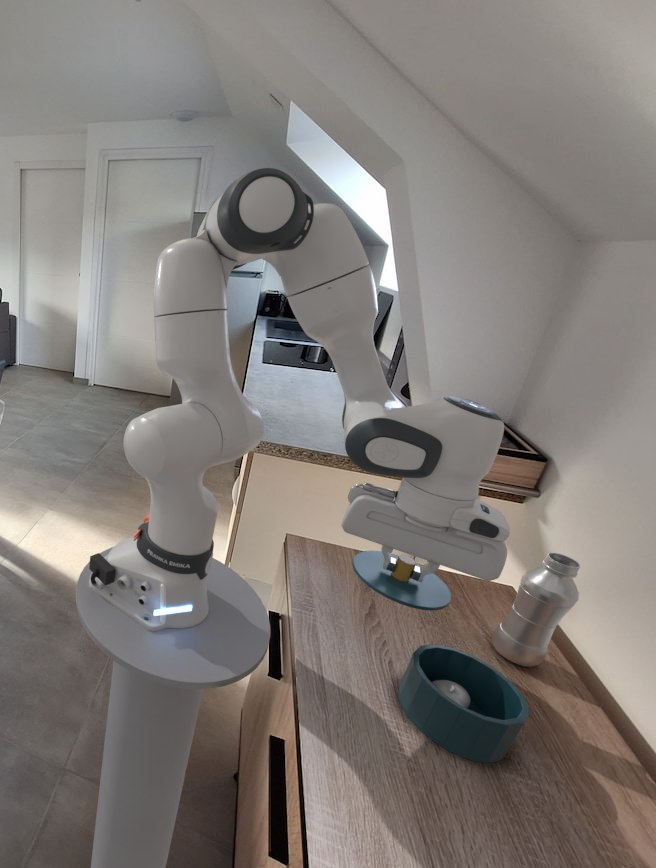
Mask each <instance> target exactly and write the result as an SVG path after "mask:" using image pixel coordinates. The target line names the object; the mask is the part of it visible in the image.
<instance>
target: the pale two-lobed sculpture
mask: <svg viewBox="0 0 656 868" xmlns="http://www.w3.org/2000/svg"><path fill="white" fill-rule="evenodd" d="M431 683H432V684H433V685H435V686H436V687H437V688H438V689H439V690H440V691H441V692H442V693H443V694H444V695H446V696H447V697H449V698H450V699H452V700H453V701H455V702H457V703H458V704H460V705H461V706H463V707H465V708H468V707H469V705H470V696H469V694H468V693H467V691H466V690H465V689H464V688H463V687H462V686H460V685H459V684H457V683H455V682H452V681H448V680H436V681H433V682H431Z"/></svg>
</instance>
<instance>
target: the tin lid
mask: <svg viewBox="0 0 656 868" xmlns="http://www.w3.org/2000/svg"><path fill="white" fill-rule="evenodd" d="M390 555H391V557H393V558H395V559H397V561H396V562H397V563H396V567H395V568H394V571H393V572H392V571H389V570H386V569H383V562H384V560H385V559H384V556H383V553H382V550H363V551H360V552H358V553H357V554H355V555H354V556H353V559H352V561H351V565H352V569H353V571H354V573H355V574H356V576H357V577H358V578H359V579H360V580H361V581H362V582H363V583H364V584H365V585H366V586H368V587H369V588H370V589H372V591H374V592H376V593H378V594H379V595H381V596H383V597H384V598H386V599H388V600H390V601H393V602H395V603H396V604H397V603H398V604H400V605H402V606H405V607H409V608H412V609H416V610H421V611H422V610H423V611H431V612H432V611H441V610H444V609H446V608H447V607H448V606H449V605H450V604H451V602H452V593H451V590H450V588H449V587H448V586H447V584H446V583H445V582H444V581H443V580H442V578H440V577H439V576H438V575H437V574H435V573H434V572H432V573H430V574H427V575H425V576H424V579H423V581H422V582H419V581H416V580H414V579H411V578H410V577H411V574H412V572H413V570H414V568H415V566H418V567H421V566H422V564H420V563H417V561H416V560H415V559H414V558H412V557H410V556H408V555H405V554H399V555H397V554H395V553H390Z"/></svg>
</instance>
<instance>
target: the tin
mask: <svg viewBox="0 0 656 868" xmlns="http://www.w3.org/2000/svg"><path fill="white" fill-rule="evenodd" d="M436 680H448V681H452V682H455V683H457V684H459V685H460V686H462V687H463V688H464V689H465V690H466V691H467V693H468V694H469V696H470V705H469V707H468V708H465V707H463V706H461V705H460V704H458V703H457V702H455V701H453V700H452V699H450V698H449V697H447V696H446V695H444V694H443V693H442V692H441V691H440V690H439V689H438V688H437V687H436V686H435V685H433V684H432V683H431V682H433V681H436ZM397 691H398V692H397V696H398V700H399V704H400V706H401V709H402V710H403V712H404V713H405V715H406V716H407V718H408V719H409V720H410V722H411V723H413V725H414V726H415V727H416V728H417V729H418V730H419V731H420V732H421V733H423V734H424V735H425V736H426V737H427V738H429V739H430V740H432V741H433V742H434V743H435V744H437V745H438V746H440V747H442V748H444V749H445V750H446V751H449V752H451V753H453V754H454V755H457V756H459V757H461V758H464V759H467V760H470V761H474V762H477V763H488V764H489V763H496V762H499V761H501V760H503V759H504V758H505V756H506V755H507V754H508V751H509V750H510V748H511V747H512V744H513V743H514V741H515V740H516V738H517V736H518V734H519V733H520V731H521V730H522V728H523V726H524V724H525V723H526V721H527V719H528V717H529V716H530V714H531V711H530V708H529V705H528V701H527V699H526V697H525V696H524V695H523V694H522V693H521V691H520V690H519V689H518V688H517V685H515V684H514V683H513V681H511V680H510V679H509V678H507V677H506V676H505V675H504V674H502V672H500V671H499V670H498V669H496V668H495V667H494V666H491V665H490V664H488V663H487V662H484V661H483V660H481V659H480V658H478V657H477V656H475V655H473V654H470V653H467V652H465V651H462V650H460V649H458V648H455V647H452V646H446V645H443V644H442V645H441V644H437V643H432V644H423V645H420V646H418V647H417V648H416V649H415V650H414V652H413V653H412V654H411V656H410V659H409V662H408V664H407V667H406V669H405V670H404V674H403V676H402V678H401V679H400V683H399V685H398V690H397Z"/></svg>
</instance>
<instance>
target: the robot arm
mask: <svg viewBox="0 0 656 868" xmlns="http://www.w3.org/2000/svg"><path fill="white" fill-rule="evenodd" d="M347 216H348V215H346V213H345V211H344V210H343V209H342V208H341V207H340V206H338V205H337V204H335V203H325V202H323V203H316V204H315V203H314V201H313V199H312V198H311V196H309V195H308V194H307V193H306V192H304V191H303V189H302V188H301V186H300V184H299V183H297V181H296V180H295V179H294V178H293V177H292V176H291V175H289V174H288V173H286V172H285V171H283V170H280V169H278V168H274V167H263V168H257V169H254V170H251V171H247V172H246V173H244V174H243V175H241V176H239V177H238V178H236V179H235V180H234V181H233V182H232V183H230V184H229V185H228V186H227V187H226V189H225V190H224V191H223V192H222V193H221V194H220V195H218V196H217V198H216V199H215V200H214V201H213V203H212V204H211V206H210V207H209V208H208V210H207V211H206V213H205V215H204V216H203V218H202V219H201V221H200V223H199V225H198V227H197V229H196V231H195V234H194V236H193V237H189V238H183V239H180V240H177V241H174V242H172V243H171V244H169V245H168V246H166V247H165V248H164V249H163V250H162V251H161V253H160V254H159V255H158V257H157V258H158V259H157V260H156V267H155V276H154V285H153V324H154V325H153V326H154V342H155V343H154V344H155V362H156V365H157V367H158V368H159V370H160V371H161V373H163V374H164V375H165V376H167V377H169V378H171V379H172V380H174V382H175V384H176V385H177V388H178V390H179V393H180V396H181V403H179V404H173V405H169V406H162V407H157V408H155V409H152V410H150V411H147V412H146V413H143V414H141V415H139V416H136V417H135V418H132V420H130V421H129V423H128V424H127V426H126V429H125V431H124V435H123V451H124V456H125V458H126V460H127V462H128V464H129V465H130V466H131V468H132V469H133V470H134V471H135V472H136V473H137V474H138V475H140V476H141V477H142V478H144V479H145V480H146V483H147V484H148V487H149V493H150V504H149V505H150V507H149V508H150V509H149V514H147V515H146V517H145V518H143V523H141V524H140V525H139V526H138V528H137V531H136V532H135V533H134V535H133V536H130V537H129V536H128V537H126V538H124V539H121V540H119V542H117V543H116V544H115V545H114V546H112V547H113V548H112V547H111V548H112V550H111V551H110V552H109V554H108V555H107V556H106V557H103V556H102V555H101V554H100V553H101V552H98V553H95V554H93V555H90V556H89V561H90V565H89V569H90V570H91V571H92V573H91V575H90V580H89V587H90V588H91V589H92V590H93V591H94V592H96V593H97V594H98V595H100V596H101V597H103V598H104V599H105V600H107V601H108V602H110V603H111V604H112V605H114V606H115V607H116V608H118V609H119V610H121V611H122V612H123V613H125V614H126V615H127V616H129V617H130V618H132V619H133V620H134V621H136V622H137V623H139V624H140V625H141V626H143V627H144V628H145V629H147V630H149V631H159V630H162V629H165V628H188V627H193V626H195V625H198V624H199V623H201V622H202V621H203V620H204V619H205V618H206V617H207V615H208V612H209V603H208V597H207V574H208V573H209V571H210V567H211V563H212V558H214V546H215V542H214V539H213V538H214V533H215V528H216V524H217V523H216V522H217V517H218V512H219V504H218V501H217V499H216V497H215V496H214V495H213V493H212V492H211V491H210V489H208V488H207V487H205V486H204V483H203V479H204V475H205V473H206V472H207V470H208V469H209V468H212V467H215V466H219V465H223V464H226V463H229V462H234V461H237V460H238V459H240V458H242V457H244V456H245V455H247V454H248V453H251V452H252V451H253V450H255V449H256V448H257V447H258V446H259V445H260V443H261V442H262V440H263V437H264V431H265V427H264V420H263V417H262V415H261V413H260V411H259V410H258V408H257V407H256V406H255V405H254V404H253V403H252V402H251V401H249V400H248V399H247V397H246V396H245V395H244V394H243V392H242V390H241V388H240V386H239V383H238V380H237V377H236V374H235V372H234V368H233V365H232V364H233V363H232V359H231V349H230V331H229V310H228V309H229V306H228V304H229V303H228V291H227V289H228V284H229V278H230V275H231V273H232V271H234V270H236V269H239V268H241V267H243V266H245V265H247V264H249V263H253V262H256V261H259V260H263V261H266V262H267V263H268V264H270V266H272V267H273V268H274V270H275V271H276V273H277V274H278V276H279V277H280V280H281V282H282V287H283V289H284V292H285V296H286V299H287V302H288V304H289V306H290V308H291V311H292V313H293V315H294V317H295V319H296V320H297V322H298V324H299V326H300V327H301V329H302V330H303V332H304V333H305V335H306V336H307V337H309V338H310V339H312V340H313V341H315V342H317V343H318V344H319V345H321V346H322V347H323V348H324V350H325V351H326V352H327V354H328V356H329V357H330V359H331V361H332V364H333V367H334V370H335V373H336V375H337V379H338V381H339V384H340V386H341V389H342V391H343V396H344V406H343V410H342V416H341V424H342V428H343V434H344V435H343V437H344V438H343V439H344V447H345V452H346V456H347V457H348V458H349V460H350V461H351V462H352V464H353V465H355V466H356V467H357V468H359V469H361V470H362V471H365V472H368V473H370V474H374V475H379V476H387V477H394V478H401V481H400V484H399V486H398V489H397V490H394V489H391V488H387V487H383V486H377V485H375V484H373V483H371V482H370V483H369V482H364V483H356V484H354V485H352V486H351V488H350V489H349V491H348V495H347V500H348V502H349V503H348V505H347V507H346V509H345V512H344V513H343V516H342V520H341V523H340V526H341V528H342V530H343V531H344V533H346V534H349V535H352V536H354V537H357V538H358V537H359V538H360V539H363V540H364V539H365V540H367V541H369V542H372V543H375V544H378V545H380V546H381V548H380V549H381V550H380V551H382V553H383V556H384V559H385V560H384V562H383V569H386V570H389V571H392V572H393V571H394V568H395V567H396V563H397V562H396V561H397V559H395V558H393V557H391V555H390V553H391V554H393V551H394V550H396V551H399V552H402V553H404V554H407V555H410V556H414V557H416V558H418V559H422V560H424V561H426V563H424V564H422V565H421V567H418V566H415V568H414V570H413V572H412V574H411V577H410V578H411V579H414V580H416V581H419V582H422V581H423V579H424V576H425V575H427V574H430V573H434V572H436V571H438V570H439V568H440V566H443V567H445V568H449V569H451V570H454V571H456V572H457V571H458V572H460V573H463V574H466V575H469V576H472V577H475V578H478V579H480V580H483V581H486V582H491V581H495V580H497V579H499V578H500V576H501V575H502V573H503V570H504V567H505V565H506V562H507V557H508V548H507V547H508V546H507V544H506V541H507V540H508V538H509V536H510V535H511V534H510V533H511V531H510V525H509V522H508V520H507V519H506V516H505V515H504V514H503V512H502V511H501V510H500V509H497V508H496V507H494V506H492V505H490V504H488V503H487V502H484V501H483V500H481V499H479V498H478V497H479V493H480V484H481V482H482V480H483V479H484V478H485V476H487V475H488V474H489V472H490V471H491V469H492V467H493V465H494V462H495V460H496V457H497V455H498V452H499V449H500V447H501V444H502V439H503V438H504V433H505V422H504V421H503V419H502V418H501V416H500V415H499V414H498V413H496V412H495V411H494V410H493V409H491V408H490V407H489V406H485V405H484V404H481V403H479V402H476V401H474V400H471V399H467V398H464V397H461V396H460V397H459V396H453V395H443V396H441V397H440V398H437V399H434V400H432V401H428V402H425V403H421V404H415V405H410V406H409V405H408V403H407V402H406V401H405V400H404V399H403V398H402V397H401V396H400V395H398V394H397V393H396V392H395V391H394V390H393V389H392V388H391V387H390V385H389V383H388V381H387V378H386V376H385V373H384V370H383V368H382V364H381V361H380V357H379V355H378V352H377V349H376V346H375V341H374V326H375V322H376V320H377V319H376V318H377V316H378V313H379V306H378V305H379V303H378V295H377V294H378V293H377V287H376V281H375V278H374V275H373V270H372V268H371V264H370V261H369V259H368V256H367V253H366V250H365V248H364V246H363V244H362V242H361V239H360V238H359V235H358V233H357V232H356V230H355V227H354V226H353V224H352V223H351V221H350V220H349V217H347ZM146 620H147V621H146Z"/></svg>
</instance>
